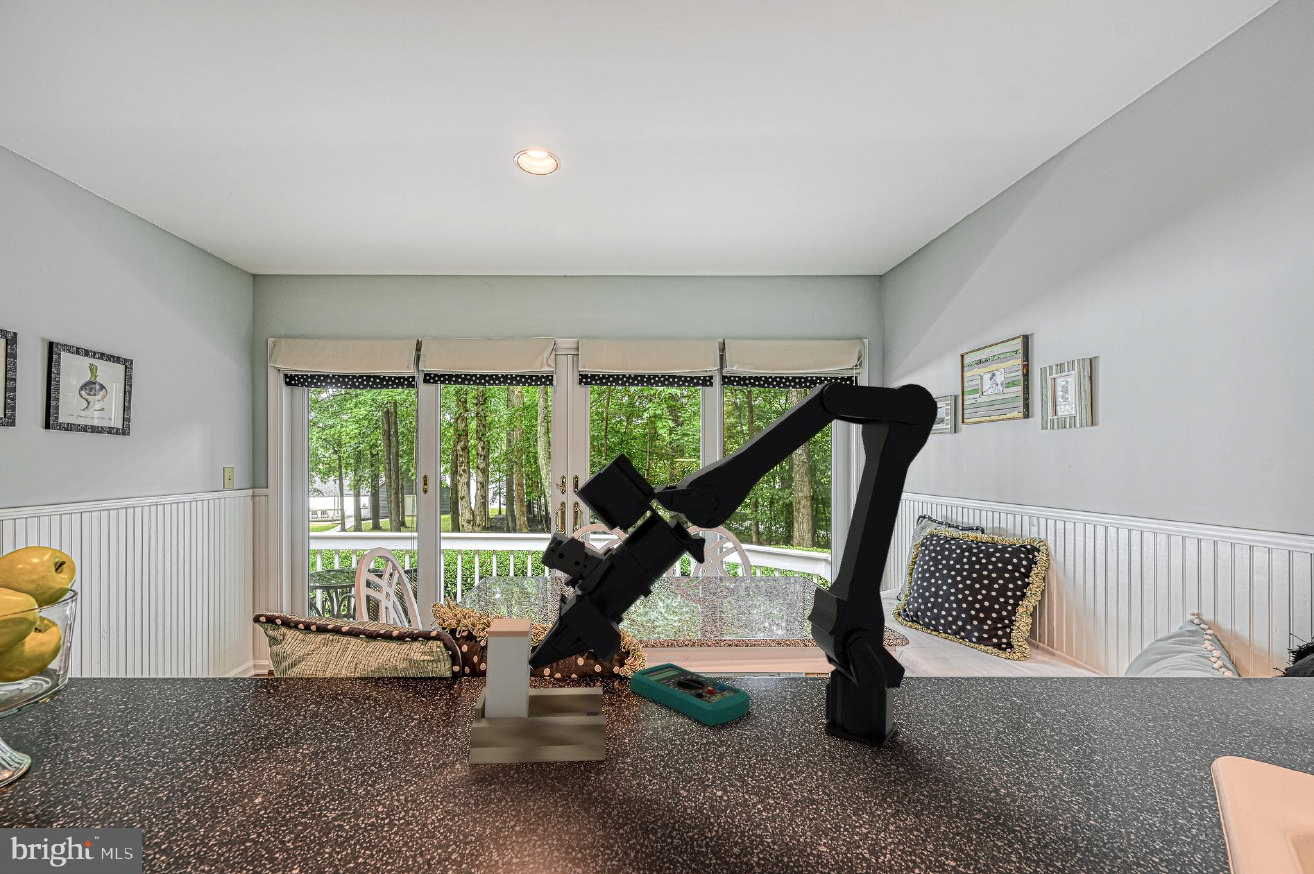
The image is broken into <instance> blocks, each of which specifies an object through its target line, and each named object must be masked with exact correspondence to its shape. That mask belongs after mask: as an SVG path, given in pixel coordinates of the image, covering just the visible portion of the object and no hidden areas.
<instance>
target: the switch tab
mask: <svg viewBox="0 0 1314 874" xmlns="http://www.w3.org/2000/svg"><path fill="white" fill-rule="evenodd" d="M532 620H533V618H532V617H531V618H523V617H522V618H517V617H516V618H514V617H513V618H494V619H493V620H492V623H491V625H490V626H489V628H488V631H487V632H488V633H487V651H486V652H487V657H486V679H485V681H486V682H485V684H486V685H485V687H486V701H485V718H525V717H528V708H529V689H530V677H531V666H530V665H529V659H530V658H531V651H532V650H531V647H532V626H533V625H532V622H533V621H532Z"/></svg>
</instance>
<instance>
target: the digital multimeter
mask: <svg viewBox="0 0 1314 874" xmlns="http://www.w3.org/2000/svg"><path fill="white" fill-rule="evenodd" d="M630 691H632V692H634V693H636V694H638V695H640V696H643V697H645V698H647V699H651V700H653V701H655V702H657V703H659V704H662V705H664V706H666V707H669V708H671V709H673V710H675V711H677V712H679V713H682V714H683V715H686V716H688V717H690V718H692V719H693V720H696V721H698V722H701V723H702V724H704V725H706V726H716V725H721V724H725V723H728V722H731V721H734V720H735V719H736V720H737V719H738V718H740V717H742V716H744V715H745V714H746V713H748V712H749V711H750V701H751V699H750V698H751V697H750V696H751V695H750V694H748V693H747V692H746V691H745V690H742V689H740V688H737V687H734V686H730V685H728V684H726V683H723V682H720V681H718V680H714V679H713V678H712V679H711V678H708V677H706V676H704V675H701V674H698V673H696V672H694V671H691V670H689V669H686V668H683V667H682V666H679V665H676V664H673V663H671V662H670V663H669V662H667V663H662V664H658V665H655V666H651V667H648V668H647V667H646V668H644V669H641V670H639V671H636V672H635V673H632V675H631V676H630Z"/></svg>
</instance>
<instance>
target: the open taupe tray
mask: <svg viewBox="0 0 1314 874" xmlns="http://www.w3.org/2000/svg"><path fill="white" fill-rule="evenodd" d="M485 701H486V686H483V687H482V689H481V693H480V694H479V697H478V700H477V701H476V705H475V707H474V719H473V721H472V723H471V726H470V746H469V748H470V749H469V765H478V764H479V765H483V764H511V763H512V764H516V763H545V762H572V761H573V762H574V761H575V762H577V761H579V762H581V761H583V762H584V761H585V762H586V761H606V740H607V739H606V736H607V721H606V720H607V719H606V715H603V688H602V687H601V686H600V687H597V686H596V687H547V688H543V687H541V688H529V708H528V717H525V718H485Z"/></svg>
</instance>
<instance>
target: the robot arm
mask: <svg viewBox="0 0 1314 874" xmlns="http://www.w3.org/2000/svg"><path fill="white" fill-rule="evenodd" d="M938 410H939V405H938V401H937V400H935V398H934V397H933V395H932V393H931V392H930V391H929V390H928V389H927V388H926V387H924V386H923V385H920V384H917V383H908V384H903V385H898V386H894V387H893V386H892V387H885V386H874V385H873V386H872V385H858V384H857V385H856V384H851V383H850V384H849V383H845V382H844V383H843V382H842V381H837V380H834V381H829V382H825V383H821V384H818V385H817V386H814V387H813V388H812V389H810V391H809V392H808V394H807V395H806V396H804V398H801V400H800V401H798V402H797V403H795V405H793V406H792V407H790V408H789V409H787V411H785V412H784V413H783V414H781V415H780V416H779V417H777V419H775V420H774V421H773V422H771V423H770V424H769V425H767V426H766V427H765V428H764V429H762V430H761V431H759V433H757V434H755V436H754V437H752V438H751V439H749V440H748V441H747V442H746V443H744V444H743V445H742V446H741V447H740V448H738V449H737V450H735V451H734V452H731V453H730V454H728V455H727V456H725V457H723V458H720V459H718V460H716V461H714V462H712V463H709V464H707V465H706V466H703V467H701V468H700V469H698V470H696V471H694V472H692V473H690V474H689V475H687V476H685V477H683V478H682V479H681V480H680V481H679V482H678V483H677V484H675V485H669V486H668V485H666V486H665V485H664V486H663V485H661V484H659V485H658V486H656V487H653V486H652V485H651V483H649V481H647V479H646V478H645V477H644V476H643V475H642V474H641V473H640V472H639V470H637V468H636V467H635V466H634V464H633V462H632V460H630V458H629V457H628V456H627V455H626V454H625V453H619V454H618V455H617V456H616V457H615V458H613V460H611V461H610V462H608V464H606V465H605V466H604V467H603V468H602V469H601V470H597V471H596V472H595V473H594V474H593V475H592V476H591V477H589V478H588V479H587V480H586V481H585V482H584V483H583V484H582V485H581V486H580V487H579V488H578V489H577V491H576V492H574V494H575V495H576V497H577V498H578V499H579V500H580V501H581V502H582V503H583V504H584V505H585V506H586V508H588V509H589V511H590V512H592V514H594V516H595V517H596V518H597V519H598V520H599V521H600V522H601V524H603V525H604V526H605V527H606V529H608V531H614V530H615V529H617V528H619V529H620V530H621V531H622V532H627V531H628V530H630V529H631V528H632V527H633V526H634V525H635V524H637V522H638V521H639V520H641V519H642V518H643V517H644V516H645V514H646V513H648V512H649V513H650V514H649V515H647V517H646V518H645V519H644V520H642V522H641V523H639V524H638V526H636V528H634V530H632V531H631V532H630V533H629V534H628V535H627V536H626V537H625V538H624V539H623V540H622V541H621V542H620V543H619V544H618V545H617V546H616V547H614V546H611V547H610V546H608V547H607V548H605V550H604V551H603V552H597V551H596V550H594V549H592V548H590V547H589V546H587V545H586V542H585V541H584V540H580V539H578V538H576V537H575V536H574V535H572V536H569V537H568V536H566V535H564V534H562V533H560V532H557V531H555V532H553V535H552V537H551V539H550V540H549V543H548V544H547V547H546V548H545V550H544V552H543V554H542V557H541V559H540V564H542V565H543V567H544V566H545V567H546V568H548V569H550V570H557V571H560V572H561V573H564V574H565V575H567V577H565V578H564V580H563V585H564V586H566V588H569V587H571V588H572V589H573V592H571V594H569V595H568V596H566V595H565V594H564V593H563V592H560V594H559V595H560V596H559V602H558V603H559V604H558V616H557V618H556V619H555V621H554V622H553V624H552V626H551V627H550V628H549V630H548V631H547V633H546V634H545V635H544V637H543V638H542V640H541V641H540V643H539V645H538V646H537V648H535V651H534V653H532V655H530V659H529V665H530V668H532V669H533V670H535V671H537V670H539V669H541V668H542V669H543V668H544V667H547V666H550V665H552V664H555V663H558V662H560V661H563V660H567V659H569V658H571V657H574V656H575V657H576V656H577V655H581V654H583V653H586V652H590V651H593V653H594V654H595V655H596V656H598V658H599V659H600V660H601V661H602V662H604V663H605V664H607V663H608V662H609V661H610V660H611V659H612V658H613V657H614V656H615V655H616V654H617V653H618V652H619V651H621V649H622V633H621V629H620V626H619V625H620V624H621V623H623V621H625V618H624V614H626V612H627V611H629V609H631V607H632V606H633V605H634V604H635V603H637V602H638V601H639V599H641V598H642V597H643V598H644V599H647V598H648V597H649V596H651V594H652V593H653V589H652V587H653V586H654V585H655V584H656V583H657V582H658V581H659V580H660V579H661V578H662V577H663V576H664V575H665V574H667V572H668V571H669V570H671V568H673V567H674V565H675V564H676V563H677V562H679V560H680V559H682V558H683V557H684V556H685V555H686V554H687V553H688V554H689V556H691V558H692V559H693V560H695V561H696V562H697V563H698V564H700V565H703V564H704V563H705V562H706V561H705V560H706V558H705V545H706V542H707V541H706V540H707V539H706V538H705V537H704V536H702V535H697V536H694V535H692V533H691V532H690V531H689V530H688V529H687V528H686V527H685V526H684V525H683V524H682V522H680V521H679V519H678V518H673V519H671V520H668V521H666V520H665V518H664V517H663V516H662V515H660V513H659V512H658V511H657V510H656V509H655V508H654V507H653V506H652V504H650V503H651V502H652V501H653V502H654V503H655V504H656V505H658V506H660V507H661V508H663V509H665V510H666V511H669V512H672V513H677V514H678V515H679V516H680V517H681V518H682V519H683V521H686V522H687V523H689V524H692V525H693V526H695V527H697V528H699V529H706V530H713V529H717V528H719V527H720V526H722V525H723V524H725V523H726V522H727V521H728V520H729V519H730V518H731V516H733V514H735V512H736V511H737V510H738V509H739V508H740V507H741V506H742V504H743V503H744V502H745V501H746V499H747V498H748V497H749V495H750V493H751V492H752V490H753V489H754V487H755V486H756V485H757V484H758V482H759V481H760V480H761V479H762V478H763V477H764V476H766V475H767V474H768V473H770V472H771V471H772V470H773V469H774V468H776V467H778V465H780V464H781V463H782V462H783V461H785V460H786V459H787V458H789V456H791V455H792V454H794V453H795V452H796V451H797V450H798V449H800V448H801V447H802V446H804V445H805V444H806V443H807V442H808V441H810V440H811V439H812V438H814V437H815V436H816V435H817V434H819V433H820V432H822V430H824V429H825V428H826V427H827V426H829V425H830V424H831V423H832V422H834V421H835V420H836V421H839V422H840V421H841V422H844V423H847V424H851V425H857V426H858V425H861V439H862V445H863V449H864V454H865V459H864V466H863V470H862V474H861V478H860V482H859V486H858V491H857V494H856V499H855V503H854V508H853V510H852V514H851V515H852V516H851V519H850V524H849V528H848V532H847V536H846V540H845V541H846V542H845V545H844V548H843V553H842V557H841V562H840V566H839V570H838V574H837V576H836V578H835V579H834V581H833V582H832V583H831V584H830V586H829V588H827V589H826V590H825V589H824V588H822V587H820V586H817V587H816V588H815V590H814V594H813V606H812V608H811V611H810V613H809V615H808V616H807V617H806V620H807V621H808V622H809V623H811V625H810V626H811V628H810V634H811V637H812V639H813V641H814V643H815V644H816V646H817V647H818V648H819V649H820V650H822V651H823V652H824V655H825V658H826V661H827V664H829V665H832V666H833V667H834V668H833V670H831V671H830V674H829V675H830V679H829V682H827V683H826V684H825V697H824V699H825V700H824V701H825V706H824V707H825V708H824V709H825V711H824V712H825V713H824V718H825V721H827V723H826V724H825V725H823V731H824V732H826V733H828V734H831V735H835V736H839V737H842V738H847V739H849V740H854V741H856V742H857V741H858V742H861V743H865V744H869V745H872V746H876V747H880V748H881V747H885V746H886V744H887V743H888V741H889V740H890V739H891V737H892V736H893V734H894V733H895V732H896V731H897V730H898V723H896V722H894V689H899V688H900V687H901V684H902V681H903V678H904V676H905V673H906V669H905V667H904V666H903V665H902V664H901V663H900V661H899V660H897V659H896V657H894V656H893V654H891V652H890V651H889V650H888V649H887V648H886V647H885V646H884V642H885V641H884V639H885V631H886V630H885V627H886V626H885V625H886V616H885V613H884V605H883V600H882V596H881V586H882V583H883V578H884V575H885V568H886V565H887V560H888V557H889V552H890V548H891V544H892V540H893V539H892V538H893V536H894V535H893V534H894V530H895V527H896V521H897V517H898V515H899V510H900V504H901V501H902V497H903V492H904V488H905V484H906V480H907V475H908V471H909V468H910V465H911V464H912V463H913V462H914V460H915V459H916V457H918V455H919V453H920V452H921V451H922V450H923V448H924V447H925V446H926V444H927V443H928V440H929V437H930V435H931V433H932V430H933V428H934V426H935V423H936V420H937V418H938Z"/></svg>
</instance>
